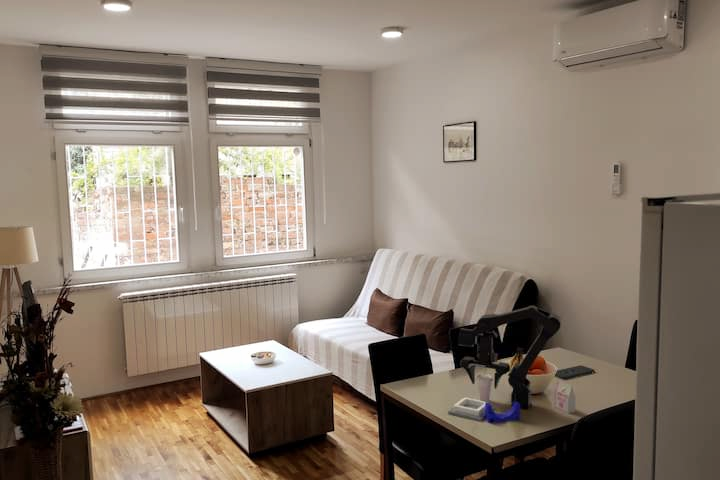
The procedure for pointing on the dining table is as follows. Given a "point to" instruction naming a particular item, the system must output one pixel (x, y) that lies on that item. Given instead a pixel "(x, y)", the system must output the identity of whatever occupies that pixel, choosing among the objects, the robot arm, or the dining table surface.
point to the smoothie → (484, 386)
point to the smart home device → (573, 372)
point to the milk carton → (564, 398)
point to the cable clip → (495, 417)
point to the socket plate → (469, 409)
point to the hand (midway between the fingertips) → (484, 386)
